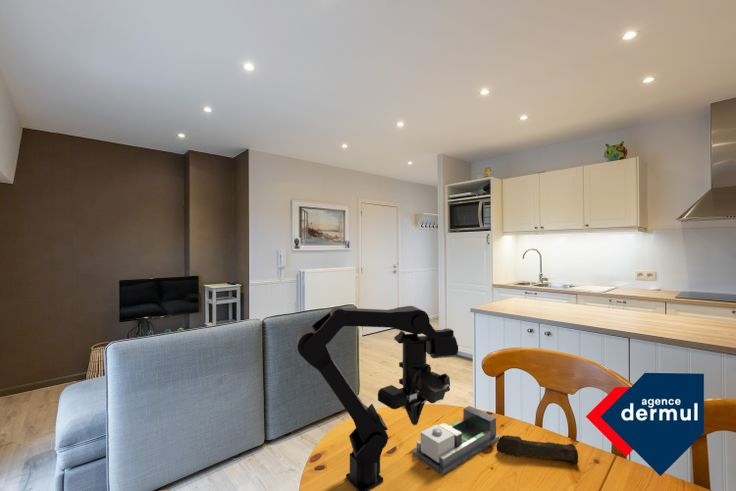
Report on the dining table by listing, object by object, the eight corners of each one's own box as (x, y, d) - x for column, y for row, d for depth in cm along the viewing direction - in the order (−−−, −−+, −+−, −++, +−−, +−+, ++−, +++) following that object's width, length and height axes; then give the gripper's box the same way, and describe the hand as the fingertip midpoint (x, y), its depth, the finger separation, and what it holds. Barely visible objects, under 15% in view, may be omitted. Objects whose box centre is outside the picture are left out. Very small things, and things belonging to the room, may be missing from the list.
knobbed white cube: (438, 462, 79) (438, 440, 79) (420, 450, 84) (420, 429, 84) (454, 453, 83) (454, 432, 83) (436, 442, 87) (436, 422, 87)
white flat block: (456, 452, 83) (456, 435, 83) (438, 441, 88) (438, 425, 88) (461, 449, 84) (461, 432, 84) (443, 438, 89) (443, 422, 89)
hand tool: (573, 456, 84) (572, 438, 84) (579, 466, 80) (579, 447, 80) (495, 447, 88) (495, 429, 88) (497, 456, 84) (497, 438, 84)
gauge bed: (442, 475, 77) (442, 449, 77) (412, 454, 85) (412, 431, 85) (499, 439, 91) (499, 418, 91) (469, 424, 99) (468, 404, 99)
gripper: (409, 379, 67) (409, 455, 67) (466, 360, 78) (466, 426, 78) (376, 363, 76) (376, 431, 75) (431, 349, 87) (431, 408, 87)
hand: (414, 424), depth 79 cm, fingers closed
